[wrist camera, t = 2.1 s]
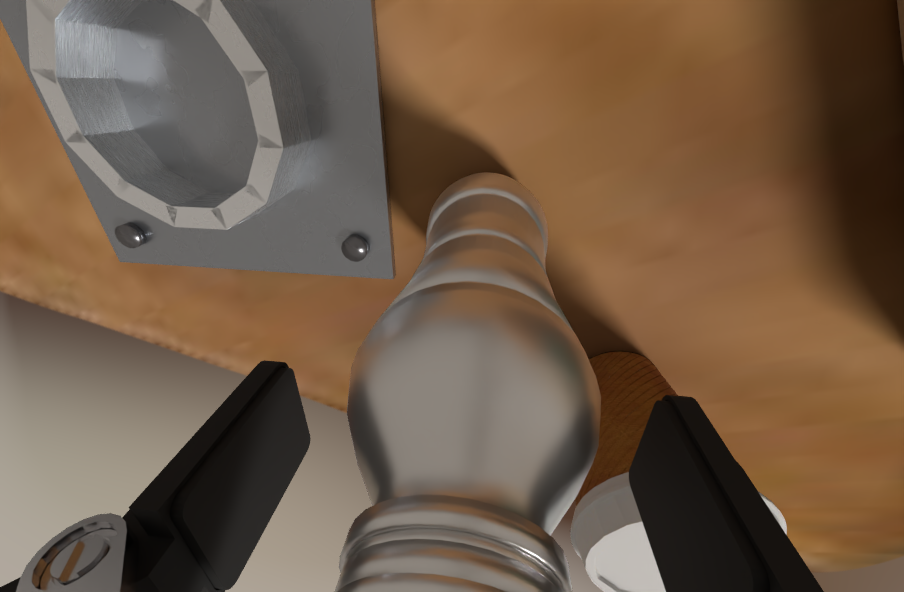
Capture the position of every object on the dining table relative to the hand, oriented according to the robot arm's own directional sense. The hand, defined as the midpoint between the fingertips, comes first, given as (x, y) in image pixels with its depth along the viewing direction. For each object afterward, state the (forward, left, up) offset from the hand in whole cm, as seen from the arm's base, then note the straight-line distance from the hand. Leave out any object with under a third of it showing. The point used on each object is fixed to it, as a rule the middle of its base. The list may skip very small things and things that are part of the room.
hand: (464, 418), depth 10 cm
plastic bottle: (-1, 0, -15) cm, 15 cm away
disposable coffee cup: (+11, +10, -15) cm, 21 cm away
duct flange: (-7, -16, -15) cm, 23 cm away
